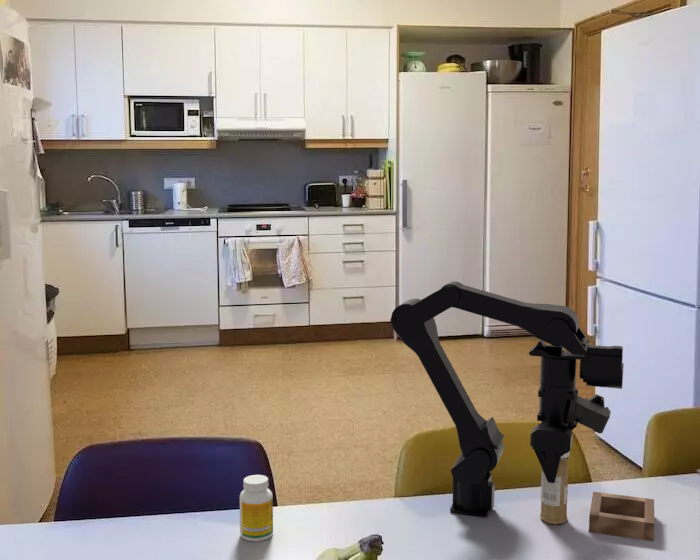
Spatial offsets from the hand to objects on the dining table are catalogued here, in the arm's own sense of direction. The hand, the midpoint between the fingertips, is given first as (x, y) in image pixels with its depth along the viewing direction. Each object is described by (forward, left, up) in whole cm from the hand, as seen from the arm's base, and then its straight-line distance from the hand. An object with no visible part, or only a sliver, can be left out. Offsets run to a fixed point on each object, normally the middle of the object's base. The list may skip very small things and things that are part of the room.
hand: (554, 472), depth 137 cm
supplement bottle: (-45, -22, -9) cm, 51 cm away
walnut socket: (+11, +2, -8) cm, 14 cm away
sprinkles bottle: (0, 0, -9) cm, 9 cm away
